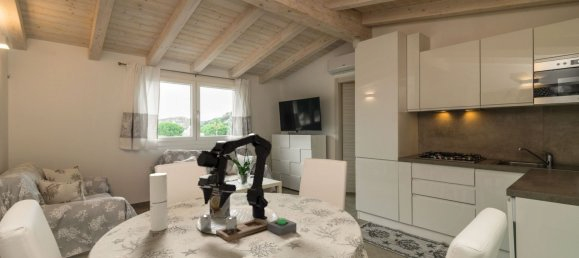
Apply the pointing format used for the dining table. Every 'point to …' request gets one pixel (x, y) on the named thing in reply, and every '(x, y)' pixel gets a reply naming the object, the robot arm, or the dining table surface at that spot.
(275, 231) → the button housing
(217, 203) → the coffee box
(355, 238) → the dining table surface
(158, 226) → the cylindrical container
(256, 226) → the brown wooden pocket tray
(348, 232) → the dining table surface
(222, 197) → the robot arm
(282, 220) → the button
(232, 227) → the billet seated
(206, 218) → the billet loose
